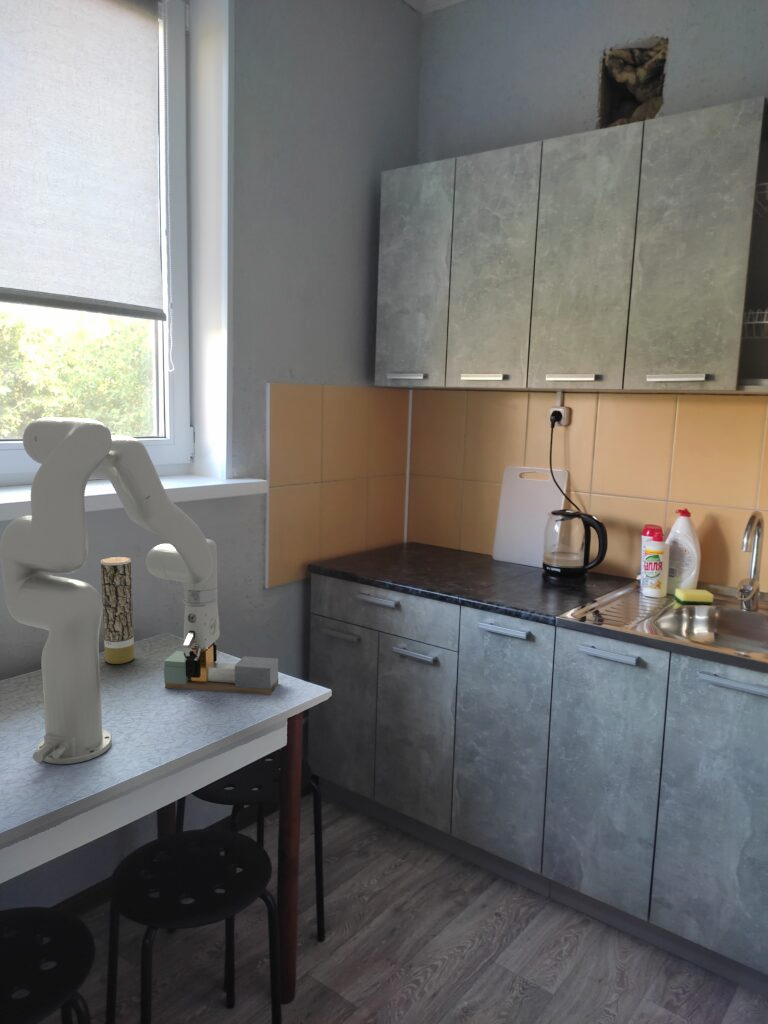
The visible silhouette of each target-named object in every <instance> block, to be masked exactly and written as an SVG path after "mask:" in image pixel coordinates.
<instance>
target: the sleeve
mask: <svg viewBox="0 0 768 1024" xmlns="http://www.w3.org/2000/svg"><path fill="white" fill-rule="evenodd" d="M235 664H236V665H235V687H242V688H256V689H271V688H272V687H273V685H274V684H275V683H276V681H277V680H278V681H279V658H273V657H262V656H259V657H257V656H245V655H244V656H242V658H240V660H238V662H237V663H235Z"/></svg>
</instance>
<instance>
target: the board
mask: <svg viewBox="0 0 768 1024" xmlns="http://www.w3.org/2000/svg"><path fill="white" fill-rule="evenodd" d="M278 685H279V679H278V680H277V681H276V683H275V684H274V685H273V687H272V688H271V689H256V688H242V687H235V683H228V682H214V681H207V682H198V681H191V680H188V683H187V684H174V683H165V682H164V688H166V689H178V690H193V691H210V692H218V693H219V692H222V693H233V694H234V693H237V694H250V695H265V696H270V695H272V694H273V692H274V691H275V689H276V688H277V686H278Z"/></svg>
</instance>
